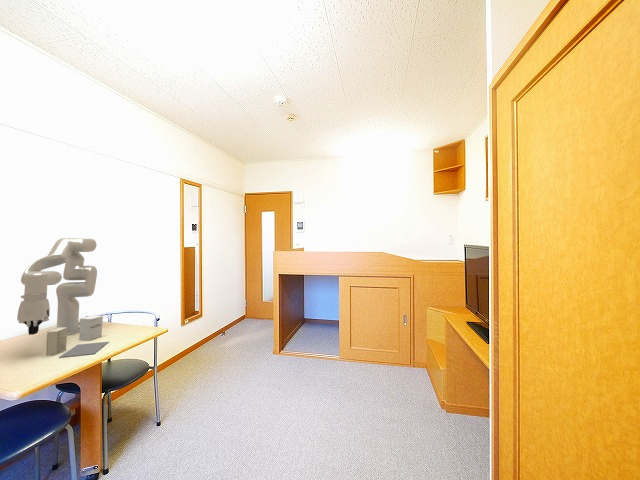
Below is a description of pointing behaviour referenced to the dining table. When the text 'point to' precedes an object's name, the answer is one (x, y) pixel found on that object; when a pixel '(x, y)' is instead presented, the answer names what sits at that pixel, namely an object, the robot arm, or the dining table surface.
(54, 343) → the skincare box
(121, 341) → the dining table surface
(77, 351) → the mat
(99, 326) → the supplement box
